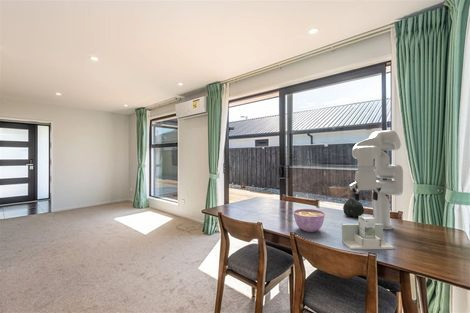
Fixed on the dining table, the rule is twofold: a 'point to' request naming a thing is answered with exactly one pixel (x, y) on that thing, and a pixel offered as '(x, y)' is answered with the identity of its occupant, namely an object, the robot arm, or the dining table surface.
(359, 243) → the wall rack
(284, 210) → the dining table surface
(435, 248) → the dining table surface
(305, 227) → the bowl of food
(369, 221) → the syrup box
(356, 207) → the squash
